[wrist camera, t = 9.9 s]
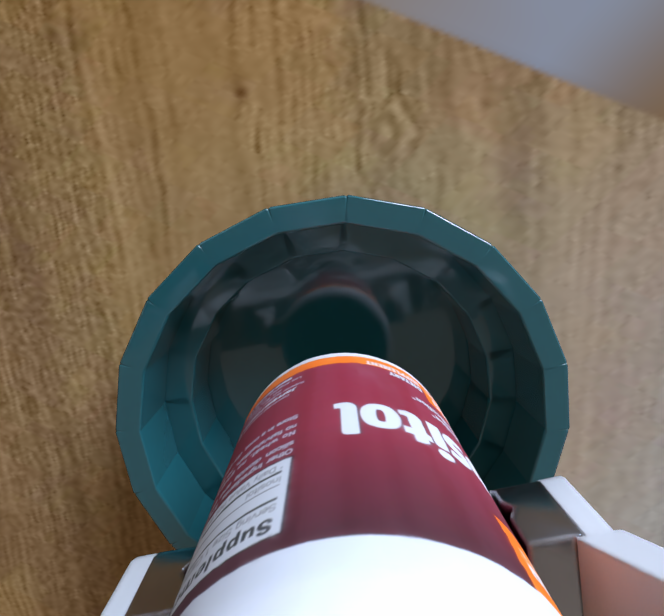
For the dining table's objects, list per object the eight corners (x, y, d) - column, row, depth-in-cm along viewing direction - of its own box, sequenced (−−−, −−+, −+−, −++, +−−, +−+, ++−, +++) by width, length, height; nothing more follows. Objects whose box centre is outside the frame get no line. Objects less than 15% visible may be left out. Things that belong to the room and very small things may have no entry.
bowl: (106, 302, 18) (22, 336, 13) (422, 136, 16) (464, 103, 11) (272, 561, 21) (256, 669, 16) (551, 437, 19) (628, 513, 14)
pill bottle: (483, 430, 13) (1216, 1428, 2) (352, 557, 14) (445, 1683, 3) (333, 302, 12) (413, 1031, 1) (203, 449, 13) (-359, 1553, 2)
